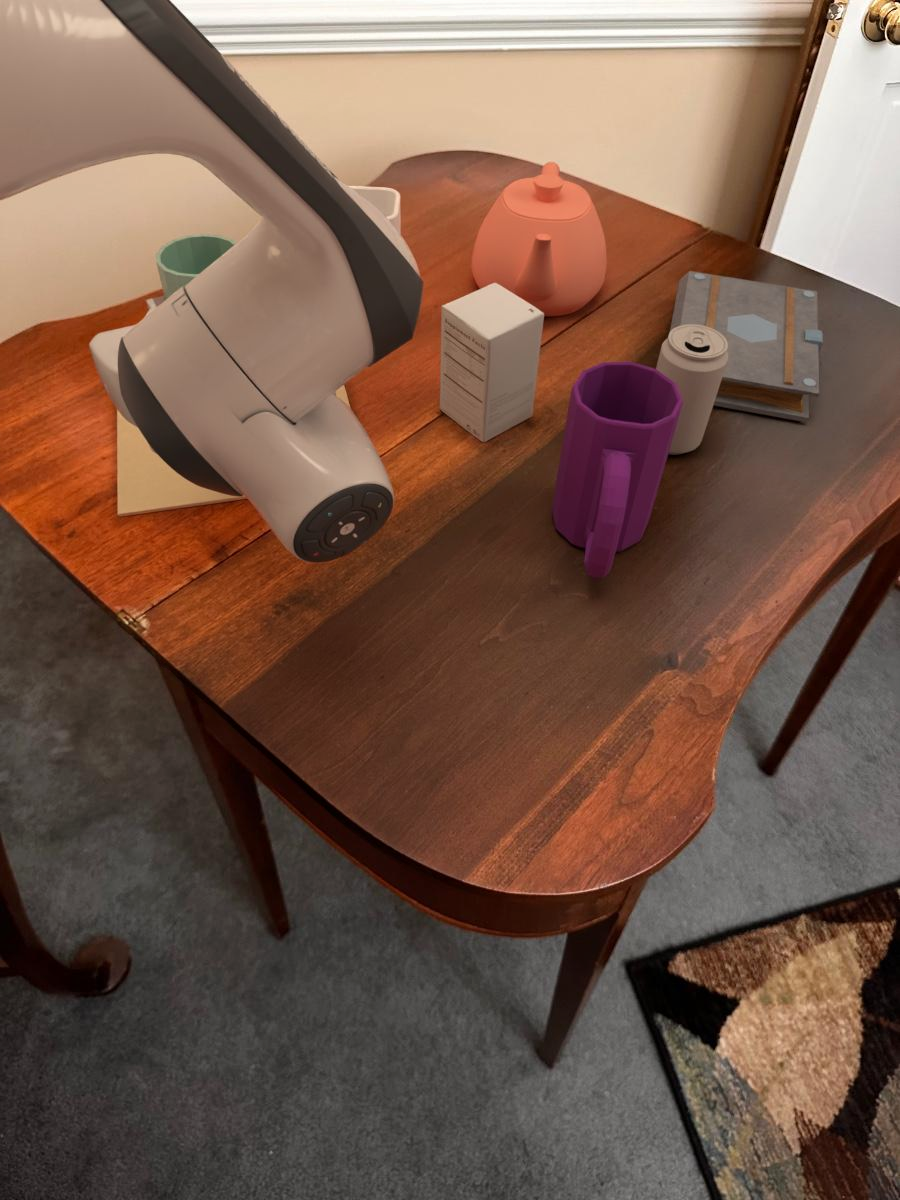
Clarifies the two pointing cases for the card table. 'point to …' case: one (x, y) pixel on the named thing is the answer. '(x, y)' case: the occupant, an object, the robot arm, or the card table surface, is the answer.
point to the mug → (613, 458)
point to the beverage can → (693, 378)
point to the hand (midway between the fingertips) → (205, 294)
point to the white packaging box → (489, 360)
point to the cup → (383, 202)
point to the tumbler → (188, 259)
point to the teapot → (543, 244)
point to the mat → (158, 476)
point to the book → (758, 341)
